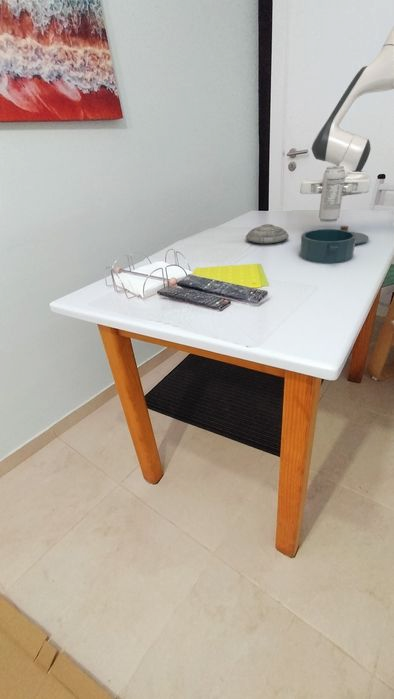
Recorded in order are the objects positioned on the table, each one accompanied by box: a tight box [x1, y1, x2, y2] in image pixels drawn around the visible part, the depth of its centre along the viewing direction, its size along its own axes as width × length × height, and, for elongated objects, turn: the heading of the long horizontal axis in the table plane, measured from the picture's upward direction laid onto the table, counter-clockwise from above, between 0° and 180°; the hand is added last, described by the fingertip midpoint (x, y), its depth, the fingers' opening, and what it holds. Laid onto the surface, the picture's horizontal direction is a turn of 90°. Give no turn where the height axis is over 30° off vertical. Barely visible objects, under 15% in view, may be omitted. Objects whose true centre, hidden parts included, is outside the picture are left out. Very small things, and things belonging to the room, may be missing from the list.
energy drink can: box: [318, 165, 345, 223], centre depth 102 cm, size 6×6×15 cm
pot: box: [299, 228, 356, 264], centre depth 100 cm, size 15×20×6 cm
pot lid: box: [339, 224, 369, 245], centre depth 112 cm, size 16×16×5 cm
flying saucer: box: [245, 223, 290, 244], centre depth 119 cm, size 15×15×6 cm
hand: (332, 189), depth 100 cm, fingers closed on energy drink can, 6 cm apart
